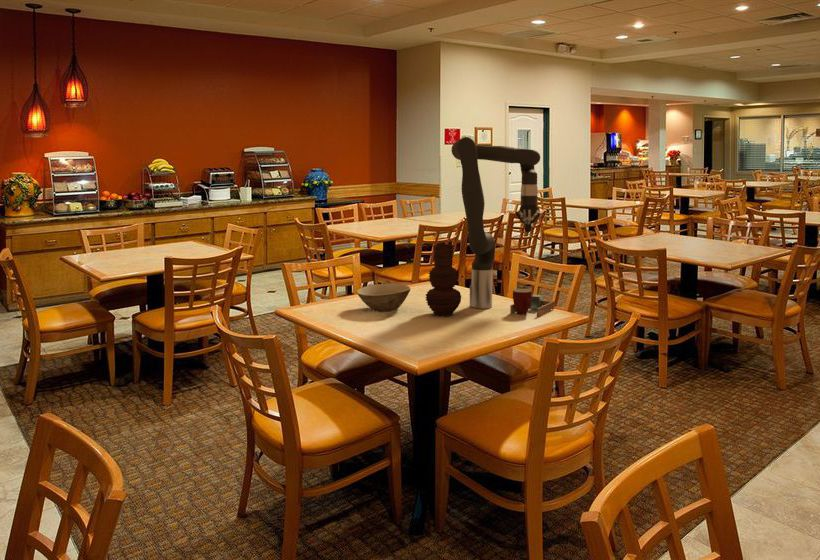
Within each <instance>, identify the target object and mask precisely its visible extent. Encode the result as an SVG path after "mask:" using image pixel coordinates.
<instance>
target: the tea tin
mask: <svg viewBox="0 0 820 560" xmlns="http://www.w3.org/2000/svg"><path fill="white" fill-rule="evenodd" d="M543 300H544V295H542V294H541V295H540V294H532V298H531V307H530V310H534V311H537V308H540V307H542V305H543Z"/></svg>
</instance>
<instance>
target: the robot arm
mask: <svg viewBox="0 0 820 560" xmlns="http://www.w3.org/2000/svg"><path fill="white" fill-rule="evenodd" d="M451 154H452V156H453V157H454V158H455V159H457V160H458V161H460V165H461V169H462V170H461V171H462V178H461V196H462V197H461V198H462V202H463V206H464V212H465V218H466V223H467V224H466V225H467V232H468V233H467V234H468V235H467V236H468V237H467V238H468V247H469V250H470V251H471V252H472V253H473V254H474V259H473V261H472V262H471V284H470V285H469V307H472V308H474V309H490V308H492V307H493V270H494V269H493V266H494V263H495V257H496V255H495V252H496V251H495V250H496V241H495V238H494V236H493V235H492V234H491V233H489V232H486V231H485V227H484V211H485V196H484V190H483V186H482V180H481V175H480V169H479V160H480V161H491V162H497V163H507V164H519V167H520V172H521V187H520V207H519V210H517V211H515V212H514V214H515V215H516V217H517V218H518V220H519V221H520V223H522V224H524V232H525V233H527V234H530V233H531V232H532V231H533V224H536V223H537V222H538V220H539V219H540V218H541V216H542V215H543V212H541V211H540V210H539V207H538V194H539V193H538V192H539V191H538V173H537V172H536V170H535V169H536V168H535V166H536V165H538V164H539V162H540V161H541V155H540V153H539V151H538V150H535V149H530V148H529V149H528V148H519V147H518V148H517V147H512V146H506V145H505V146H504V145H480V144H476V142H475V140H474V139H473V138H472V137H469V136H464V137H462V138H459V139H458V140H456V141H454V142H453V143H452V145H451ZM534 216H535V217H534Z"/></svg>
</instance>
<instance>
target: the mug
mask: <svg viewBox="0 0 820 560" xmlns="http://www.w3.org/2000/svg"><path fill="white" fill-rule="evenodd" d="M532 296H533V290H531V289H528V288H515V289H513V290H512V301H513V304H514V307H515V310H516V312H515V313H517V315H526V314H527V313H528V312H529V309H530V310H531V307H530V306H531V298H532Z"/></svg>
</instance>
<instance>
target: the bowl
mask: <svg viewBox="0 0 820 560" xmlns="http://www.w3.org/2000/svg"><path fill="white" fill-rule="evenodd" d="M410 292H411V287H410V286H408V285H406V284H400V283H382V284H380V283H379V284H373V285H368V286H367V285H365V286H362V287H361V288H359V289H358V290H357V291H356V293H357V295H358V297H359V298H360V300H361V301H362V302H363V303H364V304H365V305H366V306H367V307H368V308H370V310H371V311H373V310H374V312H376V311H378V313H389V312H394V311H397V310H399V308H400V307H402V305H403V304H404V302H405V301H406V299H407V297H408V296H409V293H410Z"/></svg>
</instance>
